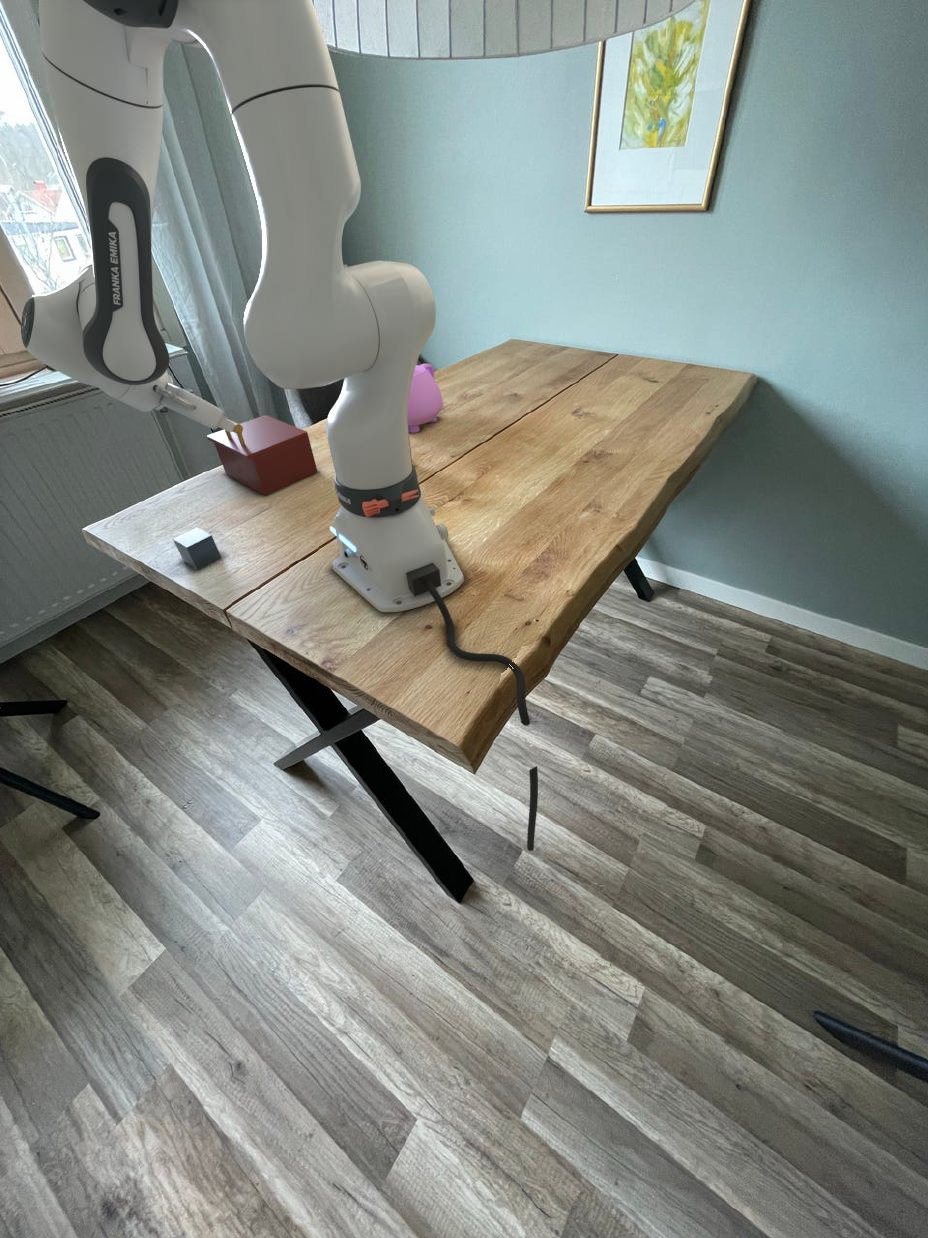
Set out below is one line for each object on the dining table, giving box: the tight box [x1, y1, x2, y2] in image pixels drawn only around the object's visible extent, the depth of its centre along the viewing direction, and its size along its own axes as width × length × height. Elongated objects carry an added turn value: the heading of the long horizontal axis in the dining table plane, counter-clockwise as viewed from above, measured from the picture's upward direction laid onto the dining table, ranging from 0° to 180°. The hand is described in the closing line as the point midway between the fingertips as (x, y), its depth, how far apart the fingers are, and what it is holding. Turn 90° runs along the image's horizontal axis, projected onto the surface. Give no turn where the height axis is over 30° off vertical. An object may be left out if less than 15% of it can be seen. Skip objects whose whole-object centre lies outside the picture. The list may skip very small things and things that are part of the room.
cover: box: [206, 414, 309, 460], centre depth 103 cm, size 14×16×5 cm
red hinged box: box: [213, 435, 319, 497], centre depth 107 cm, size 13×16×8 cm
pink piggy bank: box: [407, 363, 444, 433], centre depth 121 cm, size 22×16×14 cm
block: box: [172, 526, 222, 571], centre depth 85 cm, size 4×4×4 cm
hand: (219, 421), depth 98 cm, fingers open, 8 cm apart
